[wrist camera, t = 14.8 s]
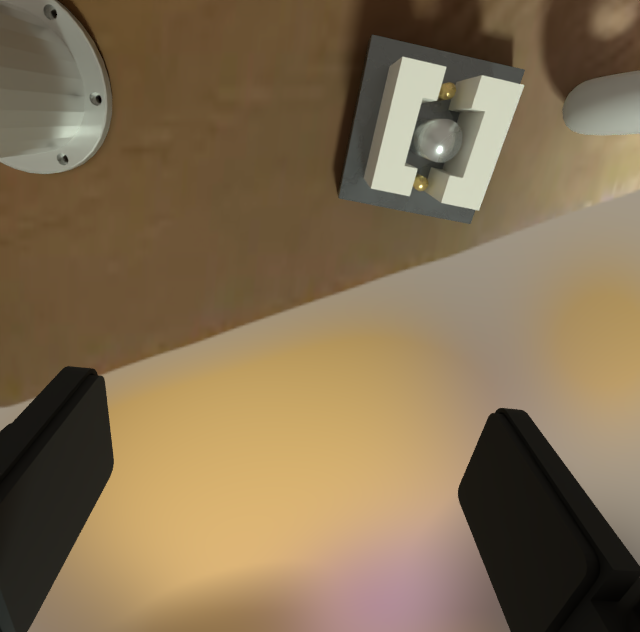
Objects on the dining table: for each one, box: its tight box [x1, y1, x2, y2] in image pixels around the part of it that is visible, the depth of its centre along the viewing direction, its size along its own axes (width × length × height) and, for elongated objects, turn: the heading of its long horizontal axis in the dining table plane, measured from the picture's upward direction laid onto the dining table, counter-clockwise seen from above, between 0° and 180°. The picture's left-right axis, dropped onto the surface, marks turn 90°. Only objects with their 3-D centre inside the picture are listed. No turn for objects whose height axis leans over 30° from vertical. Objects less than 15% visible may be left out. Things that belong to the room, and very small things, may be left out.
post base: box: [338, 35, 525, 224], centre depth 29 cm, size 11×11×6 cm
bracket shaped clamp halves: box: [364, 57, 524, 210], centre depth 28 cm, size 8×8×5 cm
